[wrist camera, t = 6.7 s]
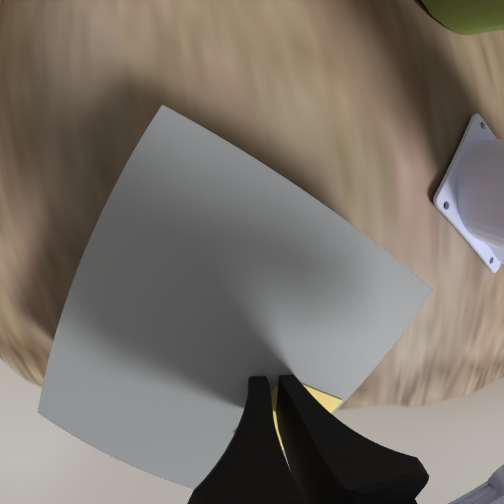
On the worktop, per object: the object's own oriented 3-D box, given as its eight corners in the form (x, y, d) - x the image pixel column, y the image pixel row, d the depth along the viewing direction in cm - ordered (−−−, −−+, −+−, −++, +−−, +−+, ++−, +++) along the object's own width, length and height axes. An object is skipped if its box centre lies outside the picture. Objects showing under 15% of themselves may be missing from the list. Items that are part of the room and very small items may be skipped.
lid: (425, 284, 11) (433, 289, 11) (230, 492, 14) (231, 500, 14) (166, 108, 9) (161, 103, 9) (42, 406, 12) (37, 413, 11)
